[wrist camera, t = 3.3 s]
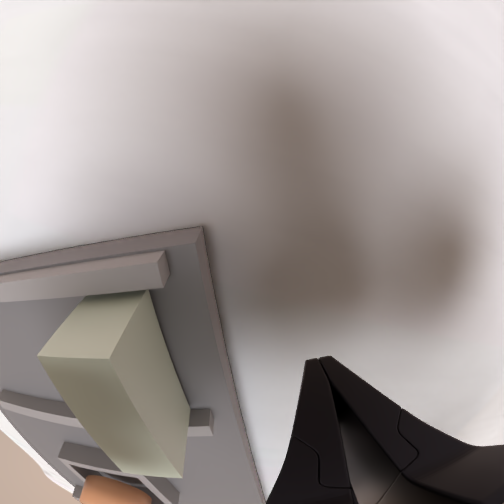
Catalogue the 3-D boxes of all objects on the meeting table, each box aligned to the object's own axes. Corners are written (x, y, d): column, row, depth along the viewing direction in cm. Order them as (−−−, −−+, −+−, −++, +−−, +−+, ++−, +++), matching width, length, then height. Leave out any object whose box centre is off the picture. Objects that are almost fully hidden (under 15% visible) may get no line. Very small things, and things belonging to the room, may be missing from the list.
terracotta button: (134, 481, 11) (129, 508, 9) (161, 506, 13) (159, 528, 11) (73, 469, 11) (66, 492, 9) (106, 497, 13) (101, 517, 11)
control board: (202, 226, 11) (187, 260, 7) (266, 506, 20) (269, 533, 17) (-50, 273, 10) (-81, 295, 7) (108, 497, 20) (103, 519, 17)
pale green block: (148, 287, 9) (109, 358, 5) (190, 408, 11) (182, 478, 8) (88, 293, 9) (36, 355, 5) (140, 408, 11) (123, 472, 7)
